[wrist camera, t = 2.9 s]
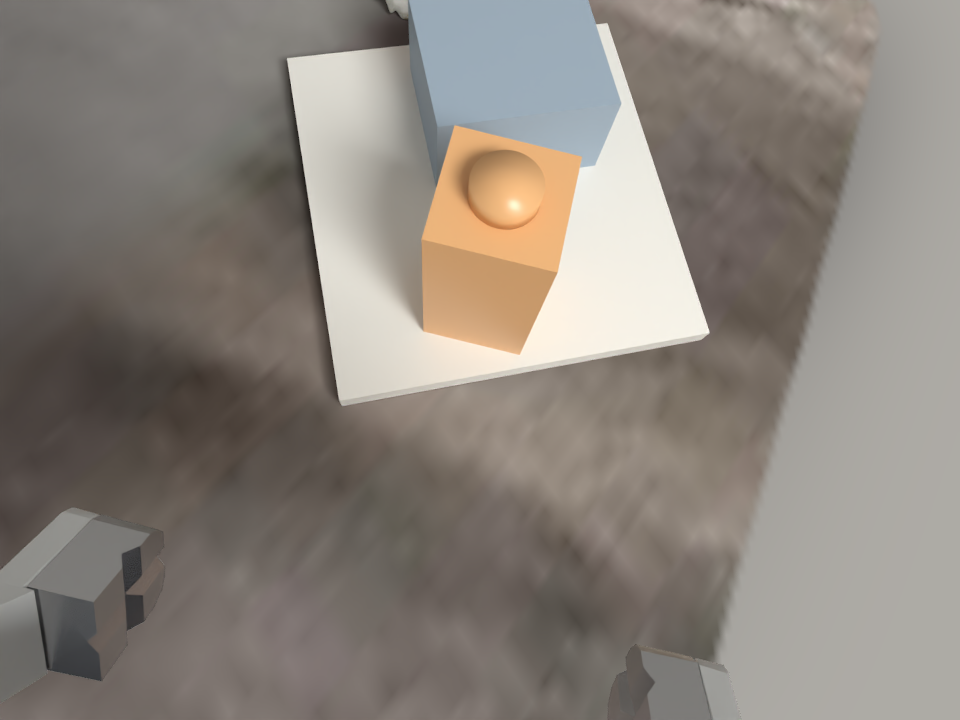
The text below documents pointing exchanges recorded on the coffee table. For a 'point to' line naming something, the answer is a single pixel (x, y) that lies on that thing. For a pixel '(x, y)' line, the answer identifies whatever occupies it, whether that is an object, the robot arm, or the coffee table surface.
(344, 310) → the baseplate
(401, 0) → the bull figurine
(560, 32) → the base block
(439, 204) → the tall brick
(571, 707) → the coffee table surface
